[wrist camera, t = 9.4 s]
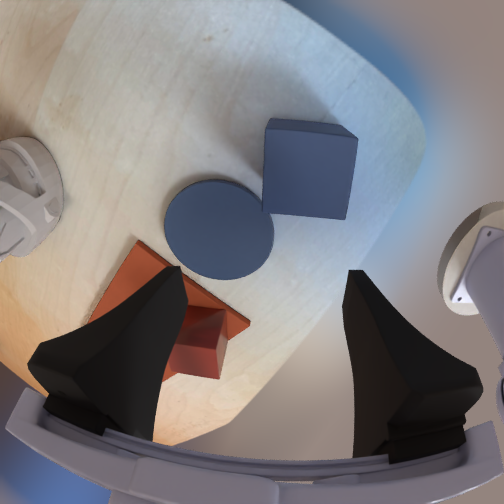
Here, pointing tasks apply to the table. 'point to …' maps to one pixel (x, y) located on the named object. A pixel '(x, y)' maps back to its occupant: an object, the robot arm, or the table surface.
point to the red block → (200, 343)
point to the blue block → (307, 168)
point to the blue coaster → (219, 229)
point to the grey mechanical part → (27, 196)
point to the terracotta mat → (145, 268)
